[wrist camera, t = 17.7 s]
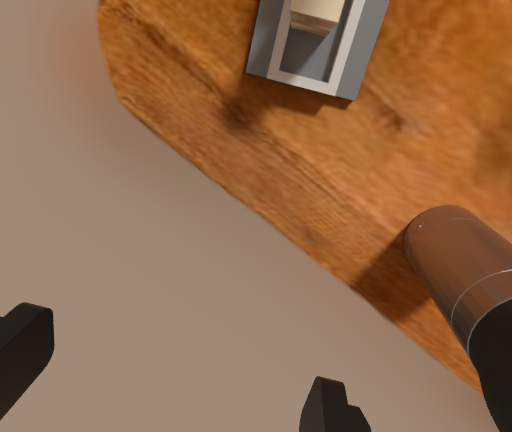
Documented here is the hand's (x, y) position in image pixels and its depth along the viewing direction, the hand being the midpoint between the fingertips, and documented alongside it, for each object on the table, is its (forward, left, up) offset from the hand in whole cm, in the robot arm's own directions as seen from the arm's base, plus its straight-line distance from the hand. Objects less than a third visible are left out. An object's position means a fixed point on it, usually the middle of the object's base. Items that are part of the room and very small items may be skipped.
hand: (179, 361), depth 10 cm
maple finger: (-1, -14, -31) cm, 34 cm away
